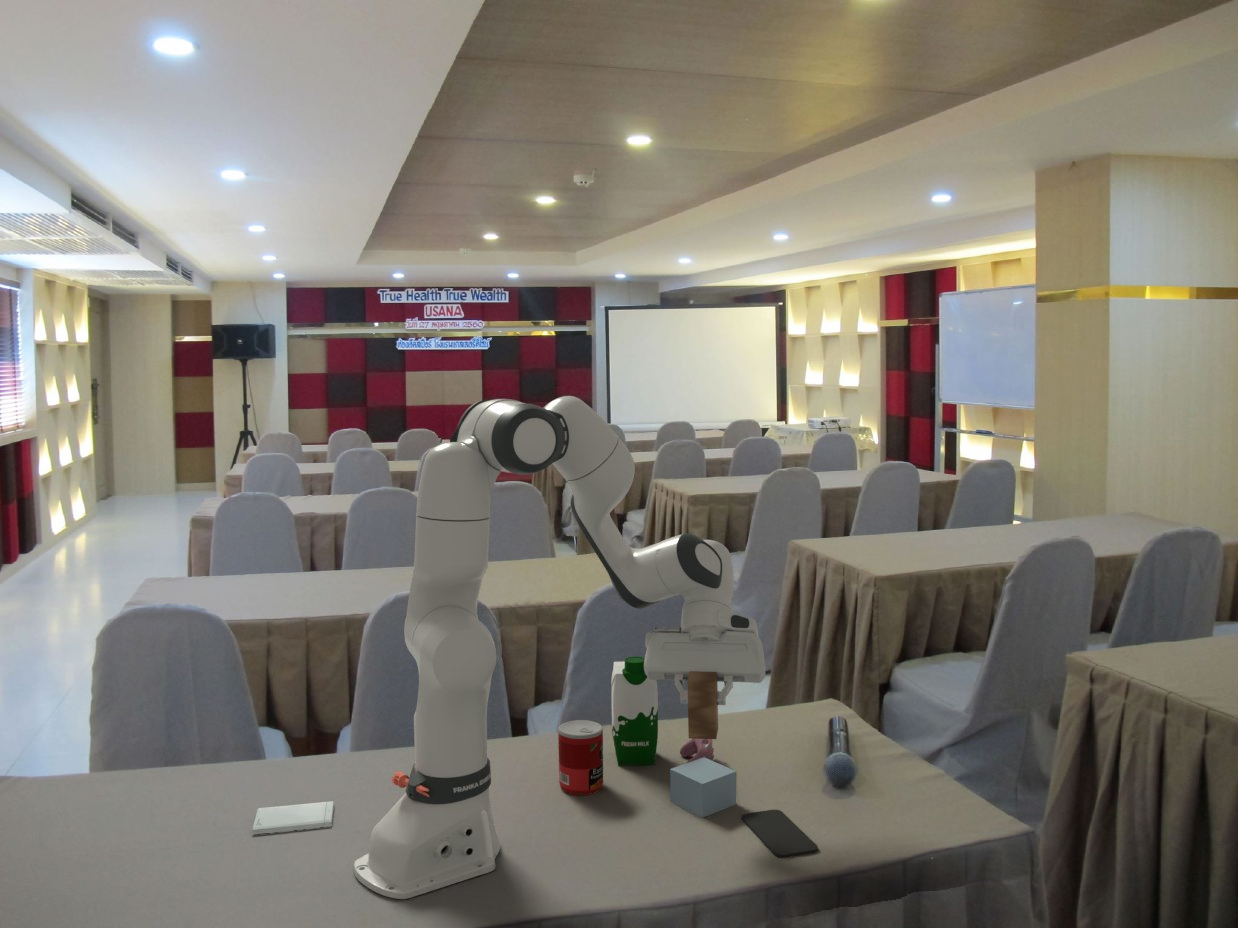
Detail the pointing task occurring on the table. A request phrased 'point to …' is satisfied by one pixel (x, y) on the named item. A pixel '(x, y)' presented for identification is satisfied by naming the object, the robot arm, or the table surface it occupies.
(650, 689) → the milk carton
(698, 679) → the walnut post
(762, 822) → the phone
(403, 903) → the table surface
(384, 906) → the table surface
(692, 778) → the base block
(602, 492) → the robot arm
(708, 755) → the video game controller
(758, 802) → the table surface
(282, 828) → the hard drive
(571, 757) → the canned food
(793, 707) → the table surface
